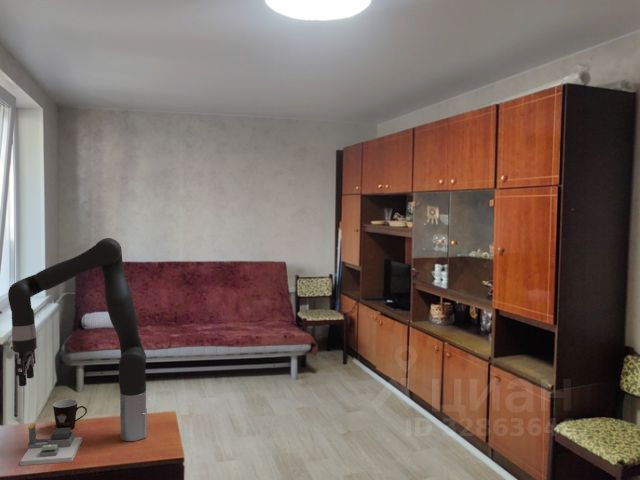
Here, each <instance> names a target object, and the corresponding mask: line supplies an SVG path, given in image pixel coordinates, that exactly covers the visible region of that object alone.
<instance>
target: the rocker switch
mask: <svg viewBox="0 0 640 480" xmlns="http://www.w3.org/2000/svg"><path fill="white" fill-rule="evenodd" d="M56 448H57V444H53V445H43V446H42V447H41V450H54V449H56Z"/></svg>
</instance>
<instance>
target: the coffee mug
mask: <svg viewBox="0 0 640 480" xmlns="http://www.w3.org/2000/svg"><path fill="white" fill-rule="evenodd" d="M52 407H53V409H52V410H53V415H54V422H55V429H56V428H71V431H73V430H75V428H76V422H77V421H79V420H81V419H83V417H85V416H86V415H87V413H88V409H87V408H86V406H83V405H80V406H78V400H77V399H75V398H74V399H73V398H69V399H68V398H67V399H61V400H57V401H55V402H53V404H52ZM81 408H82V409H84V414H83V415H81V416H80V417H78V418H77V412H78V410H79V409H81Z"/></svg>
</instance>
